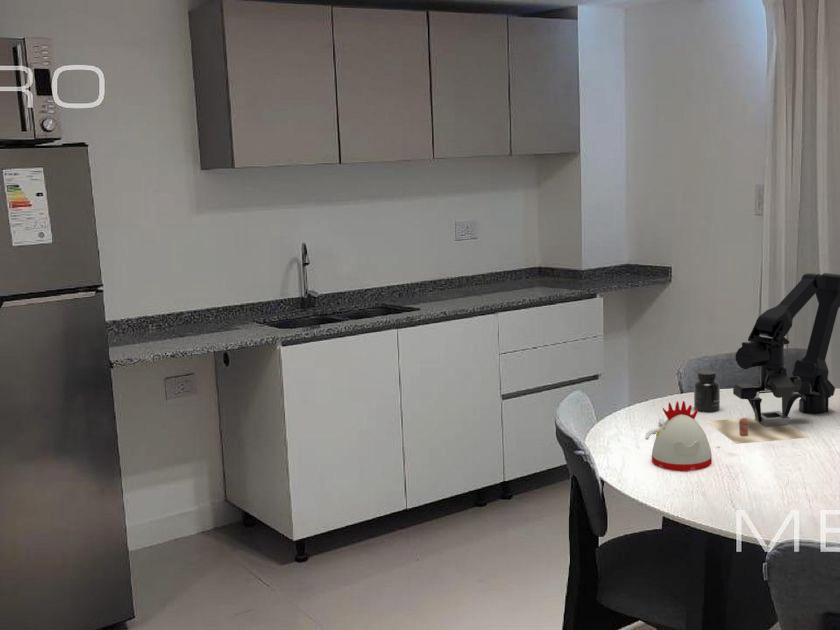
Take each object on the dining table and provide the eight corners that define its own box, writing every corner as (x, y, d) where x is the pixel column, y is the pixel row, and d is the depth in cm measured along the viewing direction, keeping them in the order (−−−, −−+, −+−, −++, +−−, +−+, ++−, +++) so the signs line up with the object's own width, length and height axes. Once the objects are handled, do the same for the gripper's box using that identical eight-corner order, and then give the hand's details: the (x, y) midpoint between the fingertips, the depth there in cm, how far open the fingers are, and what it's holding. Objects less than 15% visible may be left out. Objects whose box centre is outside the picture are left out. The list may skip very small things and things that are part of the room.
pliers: (645, 434, 248) (647, 418, 262) (645, 440, 248) (647, 423, 262) (684, 435, 245) (684, 418, 259) (684, 441, 246) (684, 424, 260)
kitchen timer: (646, 453, 237) (645, 395, 234) (702, 451, 236) (702, 392, 234) (659, 472, 223) (657, 410, 221) (718, 469, 223) (717, 407, 220)
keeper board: (774, 420, 257) (774, 399, 256) (810, 442, 237) (810, 420, 236) (705, 426, 255) (705, 405, 254) (735, 449, 236) (735, 426, 235)
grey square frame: (778, 418, 254) (778, 411, 253) (789, 425, 247) (789, 417, 247) (754, 420, 253) (754, 413, 253) (765, 427, 247) (765, 419, 247)
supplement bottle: (721, 417, 263) (720, 375, 260) (695, 417, 264) (694, 375, 262) (718, 410, 269) (718, 369, 267) (693, 411, 271) (692, 369, 269)
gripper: (749, 372, 239) (750, 432, 242) (822, 366, 240) (821, 426, 243) (732, 363, 250) (732, 420, 253) (801, 357, 251) (801, 414, 254)
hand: (771, 420), depth 250 cm, fingers closed on grey square frame, 6 cm apart
